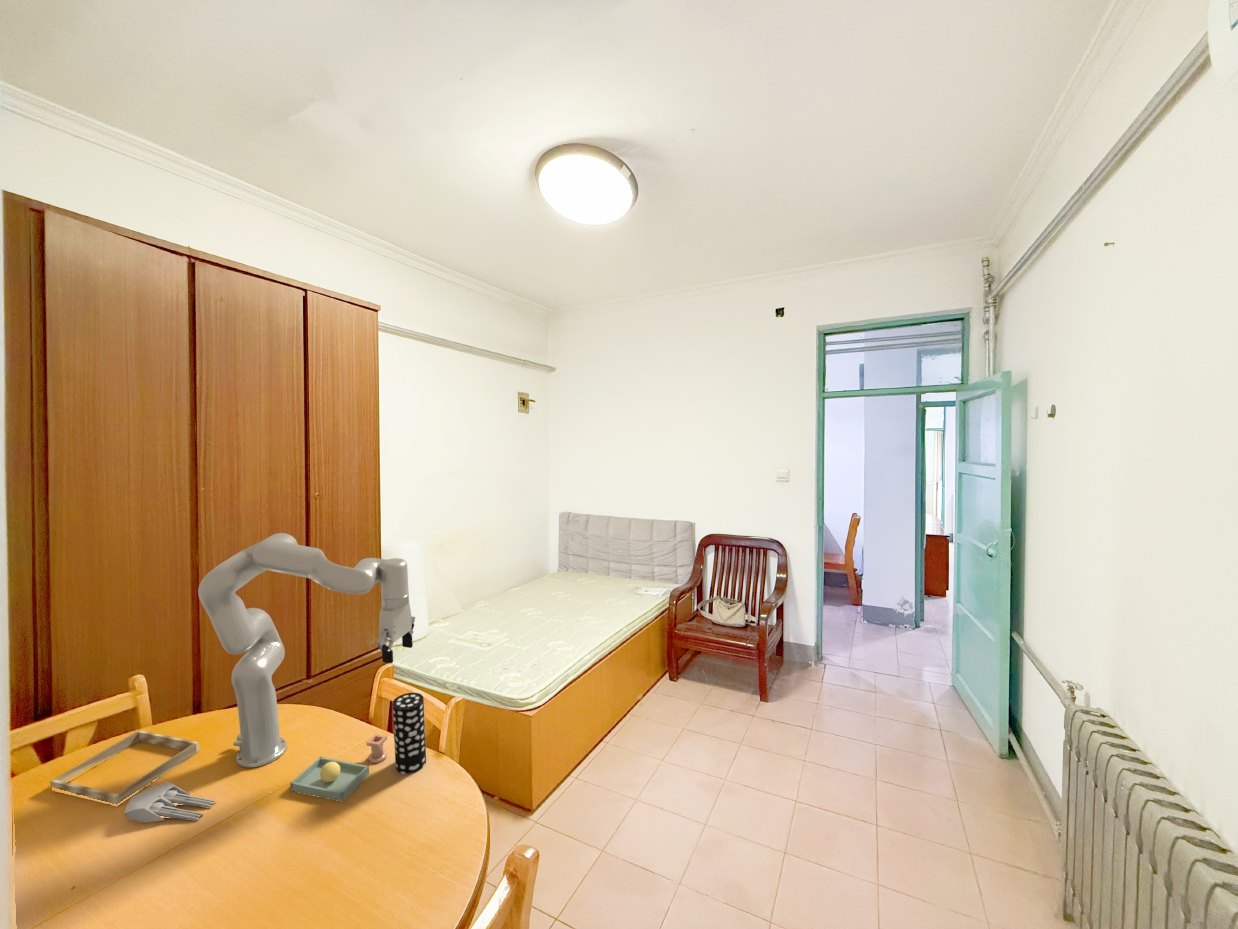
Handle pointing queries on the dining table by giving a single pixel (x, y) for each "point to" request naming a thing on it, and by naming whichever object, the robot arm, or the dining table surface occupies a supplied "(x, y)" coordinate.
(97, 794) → the frame
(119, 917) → the dining table surface
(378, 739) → the egg cup
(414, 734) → the white-spotted black cylinder
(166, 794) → the turret
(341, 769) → the tray
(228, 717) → the dining table surface
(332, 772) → the ball
